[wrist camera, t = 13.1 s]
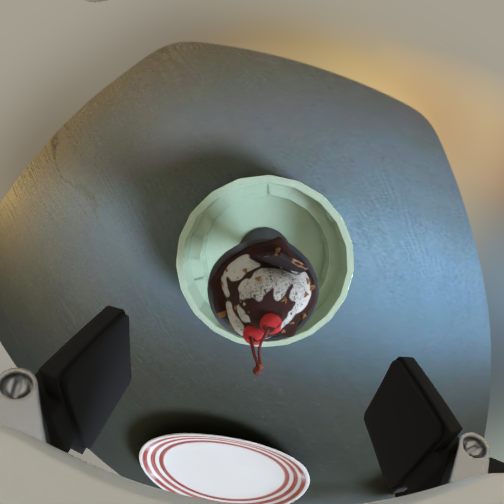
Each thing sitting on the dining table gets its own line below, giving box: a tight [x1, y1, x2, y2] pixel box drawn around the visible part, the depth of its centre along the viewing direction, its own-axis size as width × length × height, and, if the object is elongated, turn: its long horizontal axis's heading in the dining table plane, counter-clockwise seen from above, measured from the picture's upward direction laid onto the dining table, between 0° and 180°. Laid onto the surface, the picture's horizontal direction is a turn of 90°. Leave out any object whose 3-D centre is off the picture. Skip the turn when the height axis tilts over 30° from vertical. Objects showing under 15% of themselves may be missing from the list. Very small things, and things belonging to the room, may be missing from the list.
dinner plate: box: [139, 433, 310, 504], centre depth 34 cm, size 28×27×3 cm
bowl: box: [176, 175, 354, 347], centre depth 24 cm, size 14×14×5 cm
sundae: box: [207, 228, 319, 375], centre depth 19 cm, size 7×7×15 cm
